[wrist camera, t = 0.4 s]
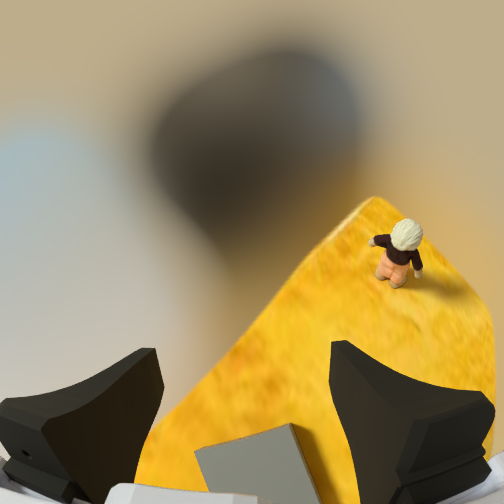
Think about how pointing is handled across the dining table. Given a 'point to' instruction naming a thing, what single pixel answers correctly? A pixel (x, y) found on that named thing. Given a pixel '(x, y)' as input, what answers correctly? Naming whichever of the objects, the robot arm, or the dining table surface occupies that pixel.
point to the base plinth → (260, 467)
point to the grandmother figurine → (399, 252)
